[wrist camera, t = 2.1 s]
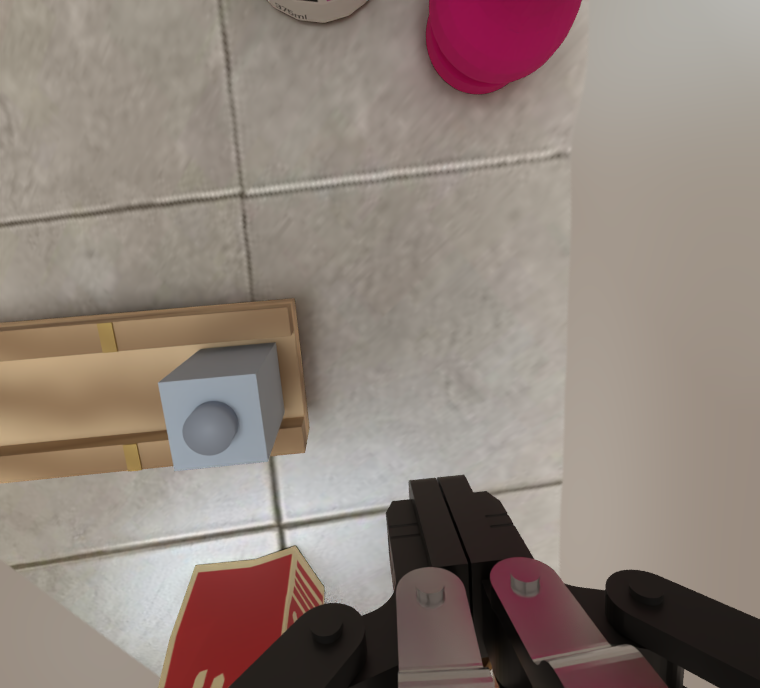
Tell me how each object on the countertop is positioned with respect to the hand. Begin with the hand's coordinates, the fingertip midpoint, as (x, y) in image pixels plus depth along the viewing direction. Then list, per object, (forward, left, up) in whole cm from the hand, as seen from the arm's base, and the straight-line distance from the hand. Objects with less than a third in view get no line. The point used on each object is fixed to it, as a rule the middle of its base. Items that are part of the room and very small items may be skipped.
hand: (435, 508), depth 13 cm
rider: (0, -8, -14) cm, 16 cm away
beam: (0, -15, -19) cm, 24 cm away
